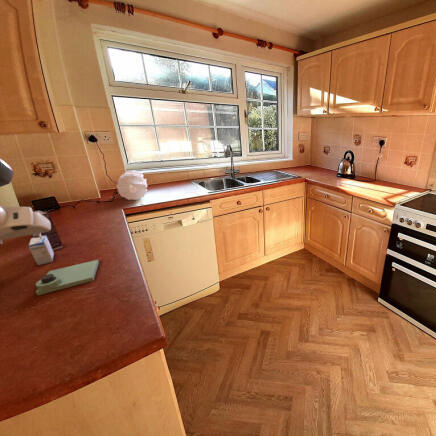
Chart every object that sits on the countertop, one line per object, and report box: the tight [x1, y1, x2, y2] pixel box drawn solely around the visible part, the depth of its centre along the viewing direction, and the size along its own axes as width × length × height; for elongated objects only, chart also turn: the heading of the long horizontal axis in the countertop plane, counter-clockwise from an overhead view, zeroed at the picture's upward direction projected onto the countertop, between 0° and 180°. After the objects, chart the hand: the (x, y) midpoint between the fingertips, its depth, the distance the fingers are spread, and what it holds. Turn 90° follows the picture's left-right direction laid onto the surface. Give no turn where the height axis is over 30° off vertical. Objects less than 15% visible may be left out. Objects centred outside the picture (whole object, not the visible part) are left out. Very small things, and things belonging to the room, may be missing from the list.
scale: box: [35, 259, 100, 296], centre depth 83 cm, size 14×14×3 cm
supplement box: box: [34, 210, 64, 252], centre depth 101 cm, size 9×5×16 cm, turn 65°
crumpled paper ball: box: [115, 169, 148, 201], centre depth 171 cm, size 18×18×25 cm
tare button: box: [40, 274, 55, 284], centre depth 77 cm, size 3×3×2 cm
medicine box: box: [28, 236, 55, 266], centre depth 93 cm, size 8×4×9 cm, turn 40°
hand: (19, 239), depth 81 cm, fingers open, 8 cm apart
